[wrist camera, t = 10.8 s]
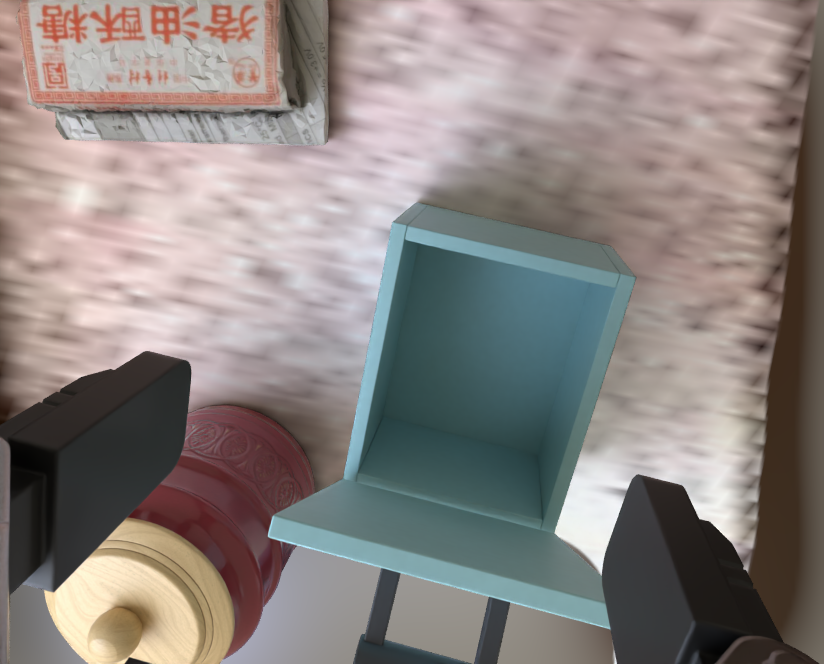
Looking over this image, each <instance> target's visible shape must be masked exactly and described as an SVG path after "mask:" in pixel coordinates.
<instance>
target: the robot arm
mask: <svg viewBox="0 0 824 664" xmlns="http://www.w3.org/2000/svg"><path fill="white" fill-rule="evenodd" d="M190 384H191V366H190V364H189V362H188V361H186V360H182V359H178V358H174V357H170V356H166V355H162V354H158V353H154V352H150V351H145V352H143V353H141V354H140V355H138V356H136V357H135V358H133V359H132V360H130V361H128V362H127V363H125V364H124V365H122V366H120V367H119V368H117V369H116V370H112V369H109V370H105V371H102V372H98V373H94V374H91V375H87V376H83V377H81V378H79V379H77V380H76V381H74V382H72V383H71V384H69V385H67V386H65V387H64V388H62V389H61V390H60V393H59V392H55V393H54V394H52V395H50V396H49V397H47V398H45V399H43V402H42V403H40V402H38V403H37V404H35V405H33V406H32V407H30V408H28V409H27V410H25V411H23V412H22V413H20V414H18V415H16V416H15V417H13V418H11V419H10V420H8V421H6V422H5V423H3V424H1V425H0V664H9V648H10V647H9V645H10V643H9V641H10V594H11V593H13V592H14V591H15V590H16V589H17V588H18V587H19V586H20V585H21V584H25V585H29V586H32V587H35V588H39V589H43V590H46V591H50V592H53V593H54V592H55V591H56V590H57V589H58V588H59V587H60V586H61V585H62V584H63V583H64V582H65V581H66V580H67V579H68V578H69V577H70V576H71V575H72V574H73V573H74V572H75V571H76V569H77V568H78V567H79V566H80V565H81V564H82V563H83V562H84V561H85V560H86V559H87V558H88V557H89V556H90V555H91V554H92V553H93V552H94V551H95V550H96V549H97V548H98V547H99V546H100V545H101V544H102V543H103V542H104V541H105V540H106V539H107V538H108V537H109V536H110V535H111V534H112V533H113V532H114V530H115V529H116V528H117V527H118V526H119V525H120V524H121V523H122V522H123V521H124V520H125V519H126V518H127V517H128V516H129V515H130V514H131V513H132V512H133V511H134V510H135V509H136V508H137V507H138V506H139V505H140V504H141V503H142V502H143V501H144V500H145V499H146V498H147V497H148V496H149V495H150V494H151V492H152V491H153V490H154V489H155V488H156V487H157V486H158V485H159V484H160V483H161V482H162V481H163V480H164V479H165V478H166V477H167V476H168V475H169V474H170V473H171V472H172V470H173V469H174V468H175V466H176V464H177V462H178V460H179V458H180V456H181V453H182V450H183V446H184V442H185V434H186V424H187V414H188V404H189V394H190ZM743 567H744V565H743V564H742V562H741V560H740V558H739V556H738V554H737V552H736V550H735V548H734V546H733V544H732V543H731V542H730V541H729V540H728V539H727V538H726V537H725V536H724V535H723V534H722V533H721V532H720V531H719V530H718V529H717V528H716V527H715V526H714V525H713V524H712V523H711V522H709V521H705V520H701V519H699V518H698V516H697V514H696V511H695V509H694V507H693V505H692V503H691V501H690V499H689V496H688V494H687V492H686V490H685V488H684V487H683V486H682V485H679V484H675V483H671V482H667V481H663V480H659V479H655V478H651V477H647V476H643V475H639V474H638V475H636V476H635V477H634V478H633V479H632V481H631V483H630V485H629V488H628V490H627V493H626V496H625V499H624V502H623V504H622V507H621V510H620V513H619V516H618V518H617V521H616V524H615V527H614V530H613V532H612V535H611V538H610V541H609V544H608V546H607V550H606V553H605V557H604V562H603V569H602V588H603V593H604V598H605V603H606V609H607V614H608V619H609V624H610V629H611V634H612V640H613V645H614V650H615V655H616V660H617V664H819V663H818V662H816V661H815V660H813V659H812V658H810V657H809V656H808V655H806V654H804V653H802V652H801V651H799V650H797V649H795V648H793V647H791V646H789V645H787V644H785V643H784V642H783V640H782V638H781V637H780V635H779V633H778V631H777V629H776V627H775V625H774V623H773V621H772V619H771V617H770V615H769V614H768V612H767V610H766V608H765V606H764V604H763V602H762V600H761V598H760V596H759V594H758V592H757V591H756V589H753V583H752V581H751V579H750V577H749V575H748V573H747V571H746V570H743ZM125 664H152V663H148V662H145V661H141V660H138V659H134V658H131V657H129V658H128V660H127V661H126V662H125Z"/></svg>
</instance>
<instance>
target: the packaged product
mask: <svg viewBox="0 0 824 664" xmlns="http://www.w3.org/2000/svg"><path fill="white" fill-rule="evenodd" d="M16 22H17V25H18V26H19V29H20V41H21V45H22V51H23V60H22V64H23V69H24V77H25V80H26V87H27V101H28V104H29V105H32V106H35V107H36V108H37V109H39V108H43V109H46V110H48V111H52V112H55V116H56V128H57V129H58V131H59V132H60V134H61V135H62V137H63V138H64V139H67V140H119V141H143V142H188V143H210V144H220V143H240V144H267V145H294V146H308V145H325V144H326V143H327V142H328V126H329V110H328V0H20V9H19V11H18V13H17V16H16Z"/></svg>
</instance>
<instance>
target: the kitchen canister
mask: <svg viewBox="0 0 824 664" xmlns="http://www.w3.org/2000/svg"><path fill="white" fill-rule="evenodd" d="M313 494H315V485H314V478H313V473H312V469H311V466H310V464H309V461H308V459H307V457H306V455H305V453H304V451H303V450H302V448H301V447H300V445H299V444H298V443H297V441H296V440H295V439H294V438H293V437H292V436H291V435H290V434H289V432H287V431H286V430H285V429H284V428H283V427H282V426H280V425H279V424H278V423H276V422H275V421H273V420H272V419H270V418H268V417H267V416H265V415H263V414H261V413H258V412H256V411H253V410H250V409H247V408H243V407H238V406H230V405H216V406H209V407H204V408H201V409H198V410H195V411H193V412H191V413H188V414H187V424H186V434H185V442H184V446H183V450H182V453H181V456H180V458H179V460H178V462H177V464H176V466H175V468H174V469H173V470H172V472H171V473H170V474H169V475H168V476H167V477H166V478H165V479H164V480H163V481H162V482H161V483H160V484H159V485H158V486H157V487H156V488H155V489H154V490H153V491H152V492H151V494H150V495H149V496H148V497H147V498H146V499H145V500H144V501H143V502H142V503H141V504H140V505H139V506H138V507H137V508H136V509H135V510H134V511H133V512H132V513H131V514H130V515H129V516H128V517H127V518H126V519H125V520H124V521H123V522H122V523H121V524H120V525H119V526H118V527H117V528H116V529H115V530H114V532H113V533H112V534H111V535H110V536H109V537H108V538H107V539H106V540H105V541H104V542H103V543H102V544H101V545H100V546H99V547H98V548H97V549H96V550H95V551H94V552H93V553H92V554H91V555H90V556H89V557H88V558H87V559H86V560H85V561H84V562H83V563H82V564H81V565H80V566H79V567H78V568H77V569H76V571H75V572H74V573H73V574H72V575H71V576H70V577H69V578H68V579H67V580H66V581H65V582H64V583H63V584H62V585H61V586H60V587H59V588H58V589H57V590H56V591H55V592H54V593H53V592H50V591H46V590H44V592H45V598H46V602H47V606H48V609H49V612H50V614H51V617H52V619H53V621H54V623H55V625H56V626H57V628H58V630H59V631H60V633H61V634H62V636H63V637H64V638H65V639H66V641H67V642H68V643H69V644H70V646H71V647H72V648H73V649H74V650H75V651H76V652H77V653H78V655H80V657H82V658H83V659H84V660H85V661H86V662H87V663H89V664H125V662H126V661H127V660H128V658H129V657H131V658H134V659H138V660H141V661H145V662H148V663H152V664H220V662H221V661H222V660H223V659H225V658H227V657H229V656H231V655H232V654H234V653H235V652H236V651H238V650H239V649H240V648H241V647H242V646H243V645H244V644H245V643H246V642H247V641H248V640H249V639H250V637H251V636H252V635H253V633H254V631H255V630H256V628H257V626H258V623H259V621H260V618H261V615H262V611H263V607H264V606H265V605H266V604H267V603H268V601H269V600H270V599H271V597H272V595H273V594H274V592H275V590H276V588H277V586H278V583H279V580H280V576H281V572H282V570H283V569H284V567H285V565H286V563H287V561H288V559H289V557H290V555H291V553H292V551H293V550H294V549H295V547H296V546H297V545H294V544H290V543H287V542H283V541H279V540H276V539H272V538H269V537H268V532H269V528H270V525H271V521H272V517H273V515H274V514H276V513H278V512H280V511H282V510H284V509H286V508H288V507H290V506H292V505H294V504H295V503H297V502H299V501H301V500H303V499H305V498H307V497H309V496H311V495H313Z"/></svg>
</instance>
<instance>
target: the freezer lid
mask: <svg viewBox="0 0 824 664" xmlns="http://www.w3.org/2000/svg"><path fill="white" fill-rule="evenodd" d="M268 537H269V538H272V539H276V540H279V541H283V542H287V543H290V544H294V545H298V546H302V547H306V548H310V549H313V550H317V551H321V552H324V553H328V554H332V555H335V556H339V557H343V558H347V559H350V560H354V561H358V562H362V563H365V564H369V565H373V566H376V567H380V568H381V572H380V576H379V580H378V584H377V589H376V592H375V596H374V601H373V605H372V609H371V613H370V617H369V621H368V625H367V630H366V633H365V634H362V635H361V637H360V640H359V644H358V647H357V650H356V654H355V658H354V662H353V664H471V663H468V662H464V661H460V660H457V659H453V658H450V657H446V656H442V655H439V654H435V653H432V652H428V651H424V650H421V649H417V648H413V647H410V646H406V645H402V644H399V643H395V642H392V641H388V640H385V635H386V631H387V627H388V623H389V619H390V614H391V610H392V606H393V602H394V598H395V594H396V589H397V585H398V581H399V577H400V573H403V574H406V575H410V576H414V577H418V578H422V579H425V580H429V581H432V582H436V583H440V584H444V585H447V586H452V587H455V588H459V589H463V590H466V591H470V592H474V593H477V594H481V595H485V596H489V599H488V604H487V608H486V613H485V617H484V622H483V626H482V631H481V635H480V640H479V644H478V649H477V653H476V658H475V662H474V664H497V660H498V656H499V652H500V647H501V643H502V638H503V633H504V629H505V624H506V619H507V615H508V610H509V606H510V602H511V603H515V604H518V605H522V606H526V607H530V608H534V609H537V610H541V611H545V612H548V613H552V614H556V615H560V616H563V617H567V618H571V619H575V620H578V621H582V622H586V623H589V624H593V625H597V626H601V627H604V628H608V629H610V624H609V619H608V614H607V609H606V603H605V598H604V593H603V588H602V576H601V575H600V574H599V573H598V572H597V571H595V570H594V569H593V568H592V567H591V566H590V565H589V564H588V563H587V562H585V561H584V560H583V559H582V558H581V557H580V556H579V555H578V554H577V553H575V552H574V551H573V550H572V549H571V548H570V547H569V546H568V545H567V544H566V543H564V542H563V541H562V540H561V539H560V538H559V537H558V536H557V535H556V534H554V533H551V532H547V531H543V530H539V529H535V528H532V527H528V526H524V525H520V524H516V523H512V522H508V521H504V520H501V519H497V518H493V517H489V516H485V515H481V514H477V513H474V512H470V511H466V510H462V509H458V508H454V507H450V506H446V505H443V504H439V503H435V502H431V501H427V500H423V499H419V498H415V497H412V496H408V495H404V494H400V493H396V492H392V491H388V490H385V489H381V488H377V487H373V486H369V485H365V484H361V483H357V482H354V481H350V480H346V479H342V480H340V481H338V482H336V483H334V484H332V485H330V486H328V487H326V488H324V489H322V490H320V491H319V492H317V493H315V494H313V495H311V496H309V497H307V498H305V499H303V500H301V501H299V502H297V503H295V504H294V505H292V506H290V507H288V508H286V509H284V510H282V511H280V512H278V513H276V514H274V515H273V517H272V521H271V525H270V528H269V532H268Z"/></svg>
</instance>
